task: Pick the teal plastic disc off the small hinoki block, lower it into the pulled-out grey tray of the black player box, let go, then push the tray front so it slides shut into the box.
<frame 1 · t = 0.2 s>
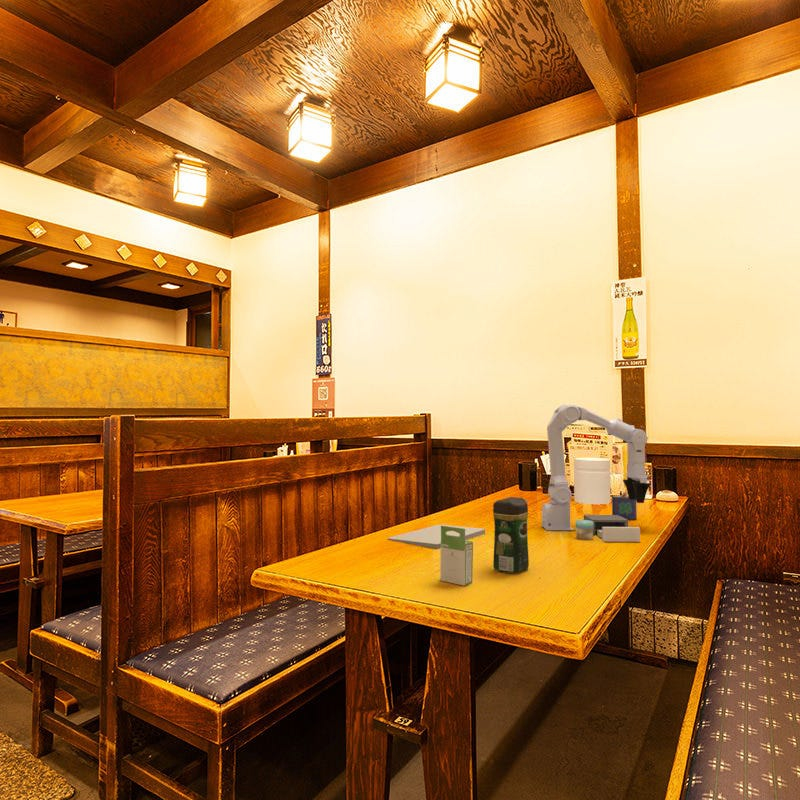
hand: (636, 501, 191), 10 cm above the table, fingers open, 7 cm apart
disc: (584, 527, 177), point 3 cm above the table, touching pedestal
electronic device: (437, 538, 179), on the table
ink box: (456, 582, 130), on the table
tray: (616, 531, 176), point 2 cm above the table, slide at 8.5 cm
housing: (605, 532, 185), on the table
pedestal: (584, 538, 177), on the table
canister: (592, 502, 252), on the table
flask: (624, 520, 210), on the table
coffee jar: (510, 570, 141), on the table
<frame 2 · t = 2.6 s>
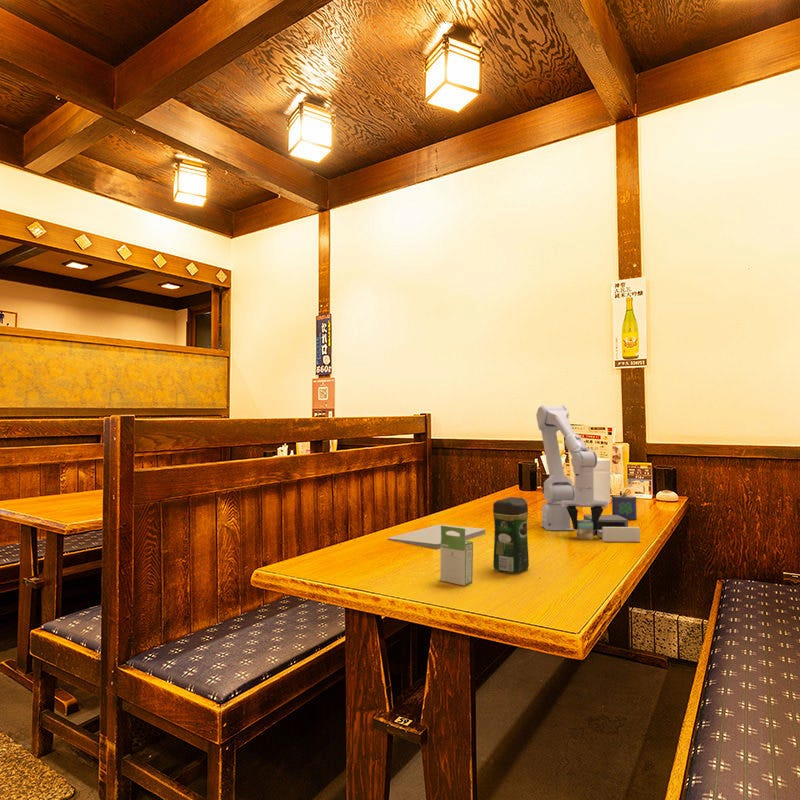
hand: (584, 529, 177), 3 cm above the table, fingers closed on disc, 5 cm apart
disc: (584, 527, 177), point 3 cm above the table, touching gripper, pedestal
everything else where it was.
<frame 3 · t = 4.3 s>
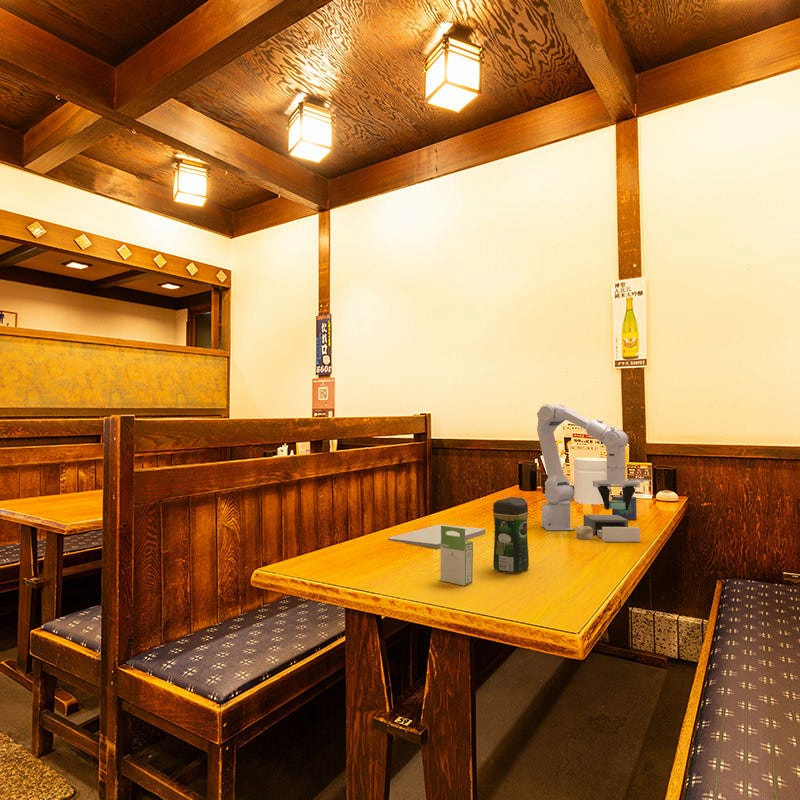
hand: (616, 509, 176), 10 cm above the table, fingers closed on disc, 5 cm apart
disc: (616, 507, 176), point 10 cm above the table, touching gripper
everything else where it was.
when the fingers open (2 cm above the table, at t = 5.9 s): disc drops 2 cm, resting on tray.
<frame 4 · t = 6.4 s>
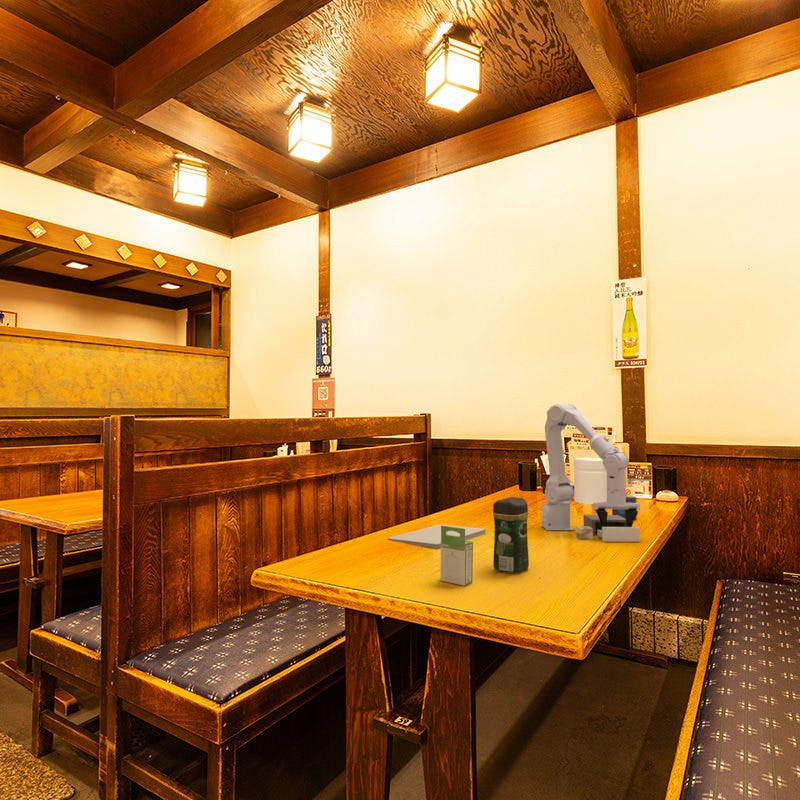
hand: (616, 531, 176), 2 cm above the table, fingers open, 7 cm apart
disc: (616, 536, 176), point 1 cm above the table, touching tray
tray: (616, 531, 176), point 2 cm above the table, slide at 8.5 cm, touching disc
everything else where it was.
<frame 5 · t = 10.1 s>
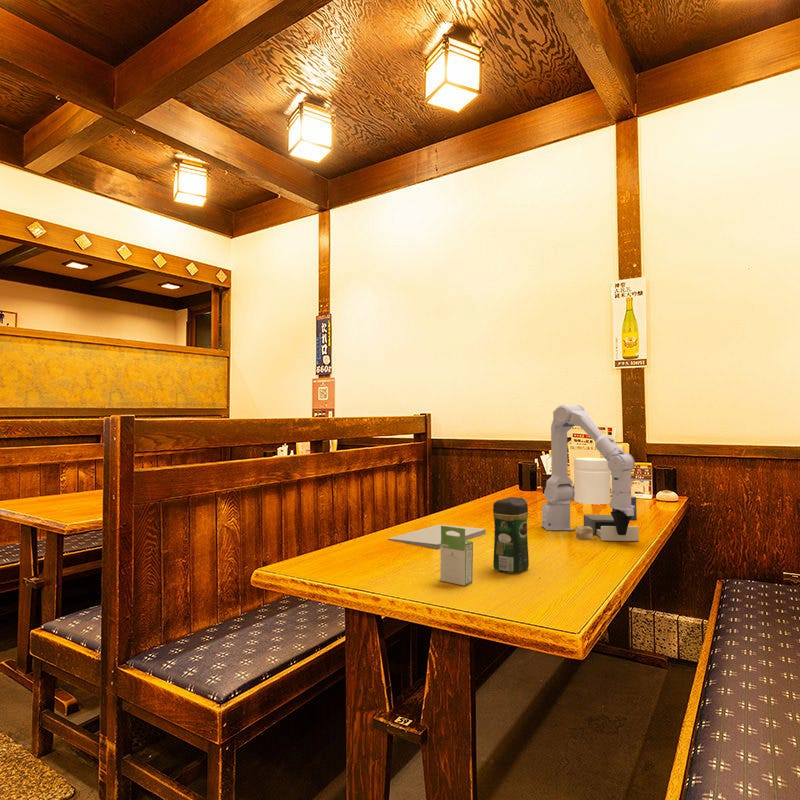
hand: (621, 534, 172), 2 cm above the table, fingers closed
disc: (615, 535, 177), point 1 cm above the table, touching tray
tray: (614, 530, 177), point 2 cm above the table, slide at 7.3 cm, touching disc, gripper
everything else where it was.
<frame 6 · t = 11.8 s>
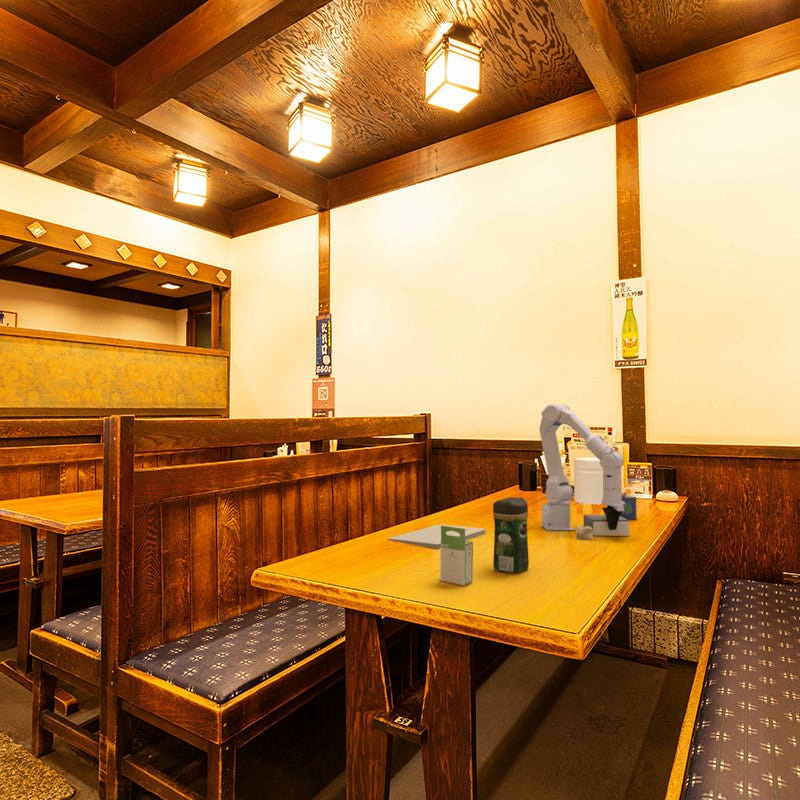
hand: (612, 529, 179), 2 cm above the table, fingers closed
disc: (606, 530, 184), point 1 cm above the table, touching tray
tray: (606, 526, 185), point 2 cm above the table, slide at -0.1 cm, touching disc, gripper
everything else where it was.
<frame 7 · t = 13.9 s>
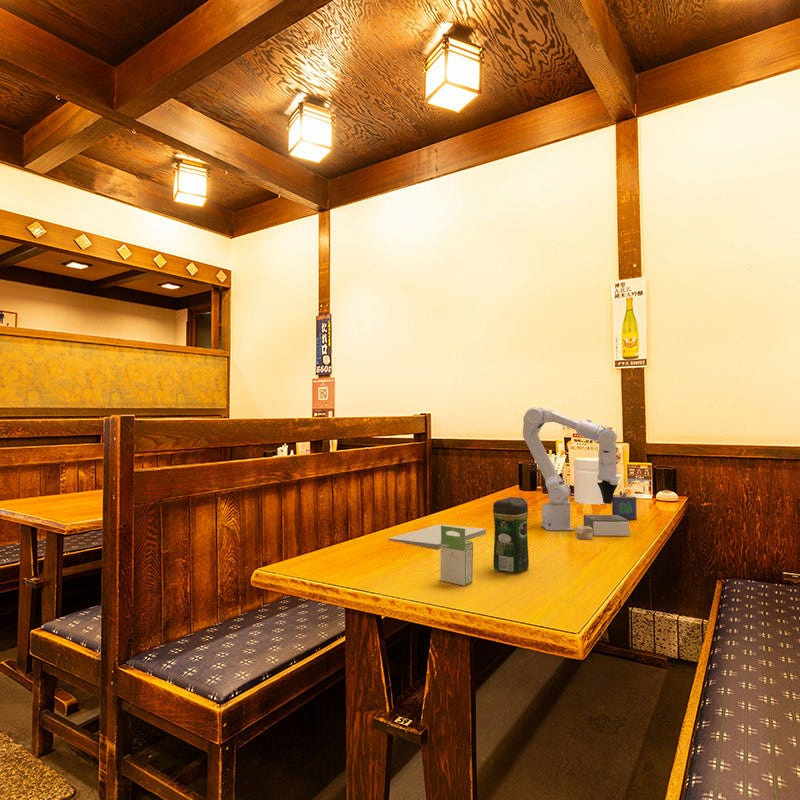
hand: (607, 503, 185), 10 cm above the table, fingers closed
tray: (606, 526, 185), point 2 cm above the table, slide at 0.0 cm, touching disc
everything else where it was.
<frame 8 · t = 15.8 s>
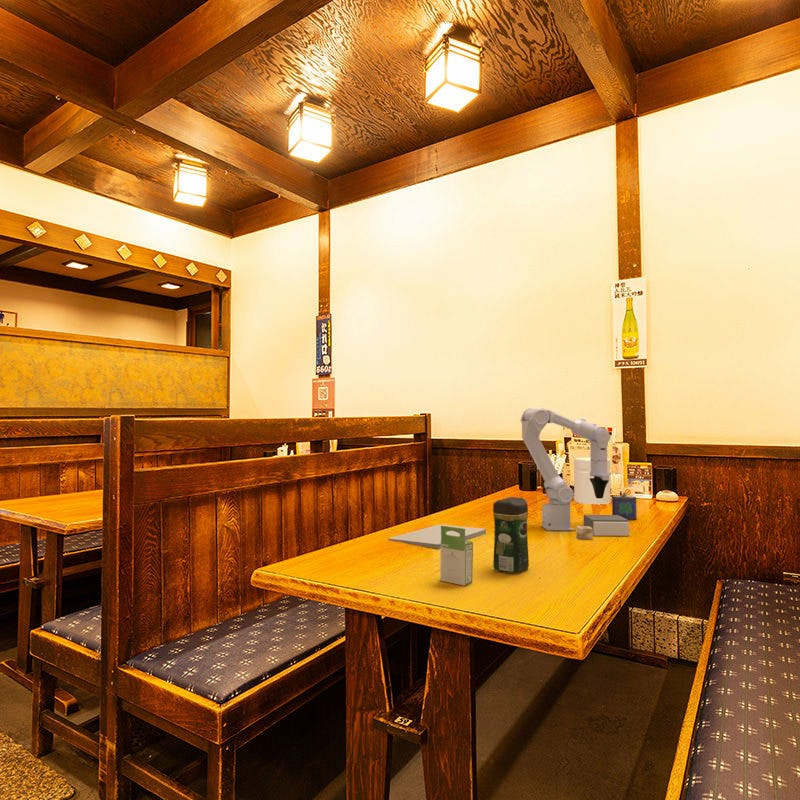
hand: (599, 498, 195), 10 cm above the table, fingers closed
nothing on the table moved.
at the end: tray slide at 0.0 cm; disc inside the target area on the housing (1.6 cm from its centre), point 1.0 cm above the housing's base; the gripper is holding nothing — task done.
